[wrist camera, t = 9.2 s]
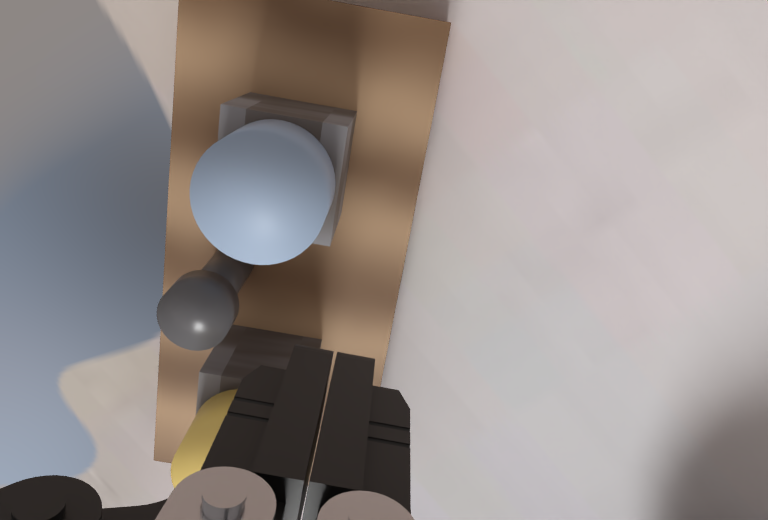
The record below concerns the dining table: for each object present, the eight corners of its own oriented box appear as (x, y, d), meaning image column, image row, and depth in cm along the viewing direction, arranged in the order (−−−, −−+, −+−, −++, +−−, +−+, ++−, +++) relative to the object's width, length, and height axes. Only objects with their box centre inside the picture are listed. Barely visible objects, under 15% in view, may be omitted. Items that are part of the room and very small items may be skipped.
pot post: (206, 229, 32) (158, 278, 25) (266, 239, 32) (232, 291, 25) (202, 284, 33) (155, 344, 26) (260, 293, 33) (226, 355, 26)
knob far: (226, 330, 33) (174, 420, 25) (318, 345, 33) (293, 439, 25) (219, 408, 34) (167, 514, 27) (306, 422, 35) (279, 532, 27)
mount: (201, -22, 30) (134, -39, 23) (446, 23, 31) (460, 21, 23) (171, 429, 39) (116, 524, 32) (362, 460, 40) (352, 561, 32)
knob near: (249, 95, 29) (194, 119, 21) (353, 114, 29) (335, 144, 21) (239, 197, 30) (185, 252, 23) (338, 214, 31) (317, 275, 23)
